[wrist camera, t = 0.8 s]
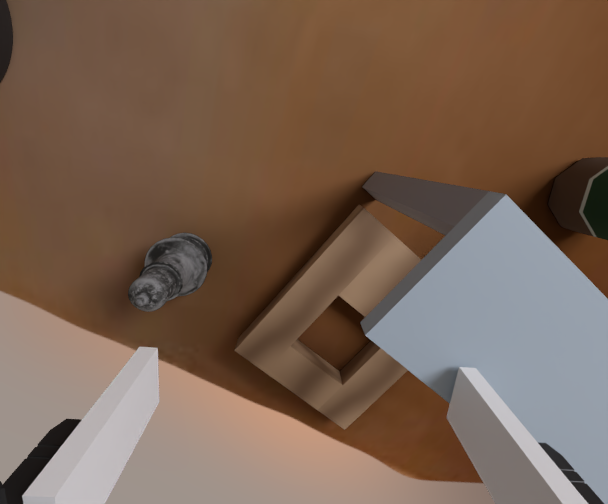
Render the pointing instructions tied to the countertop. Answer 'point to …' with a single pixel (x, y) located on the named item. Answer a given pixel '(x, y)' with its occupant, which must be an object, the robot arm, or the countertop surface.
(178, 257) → the grey chess piece
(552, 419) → the grey arch frame
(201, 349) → the countertop surface
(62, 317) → the countertop surface
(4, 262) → the countertop surface
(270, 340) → the socket
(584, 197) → the beer bottle
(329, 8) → the countertop surface
